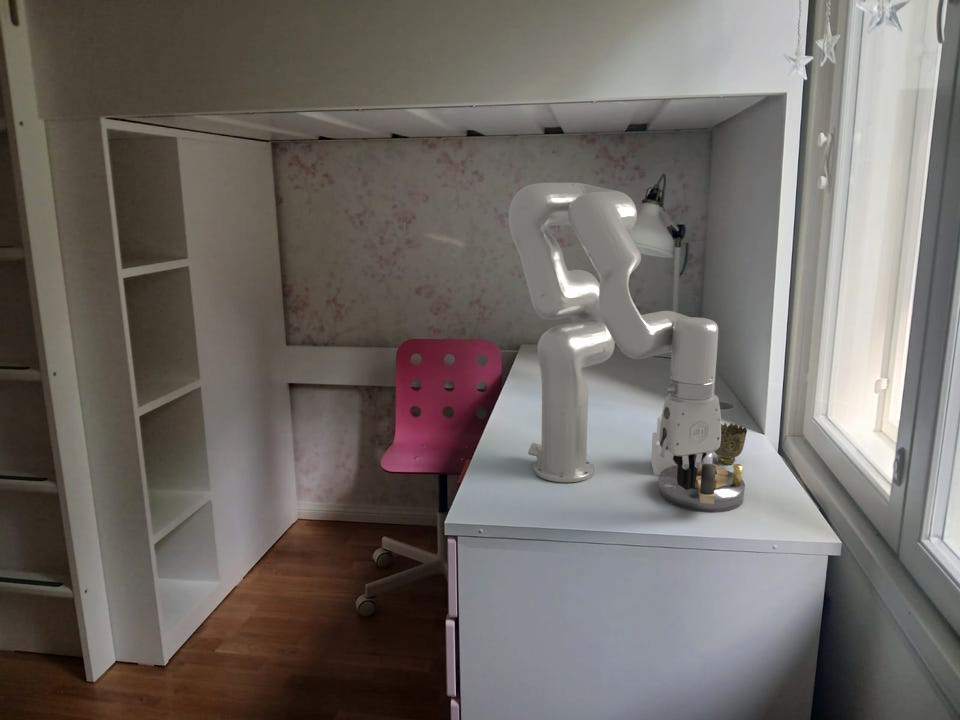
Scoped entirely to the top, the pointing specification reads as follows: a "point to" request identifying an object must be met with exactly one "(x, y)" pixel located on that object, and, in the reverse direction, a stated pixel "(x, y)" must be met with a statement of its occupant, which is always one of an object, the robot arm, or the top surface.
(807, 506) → the top surface
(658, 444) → the medicine bottle
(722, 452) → the cup
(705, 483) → the wrench
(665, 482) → the post base
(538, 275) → the robot arm
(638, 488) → the top surface
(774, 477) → the top surface
